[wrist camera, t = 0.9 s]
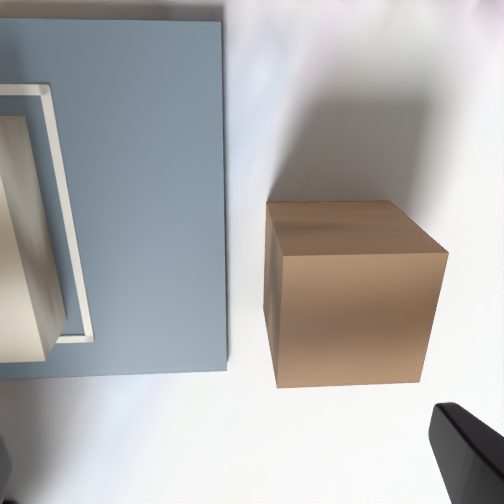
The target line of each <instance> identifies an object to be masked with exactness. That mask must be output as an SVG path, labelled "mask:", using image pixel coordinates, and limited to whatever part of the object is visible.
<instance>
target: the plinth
mask: <svg viewBox="0 0 504 504" xmlns="http://www.w3.org/2000/svg"><path fill="white" fill-rule="evenodd" d="M66 324H67V319H66V314H65V309H64V304H63V299H62V294H61V290H60V285H59V280H58V275H57V270H56V265H55V260H54V255H53V250H52V246H51V241H50V236H49V231H48V226H47V221H46V216H45V211H44V206H43V202H42V197H41V192H40V187H39V182H38V177H37V172H36V167H35V162H34V158H33V153H32V148H31V143H30V138H29V133H28V128H27V123H26V118H25V116H0V363H7V362H35V361H46V359H47V357H48V356H49V354H50V352H51V350H52V349H53V347H54V345H55V343H56V341H57V340H58V338H59V336H60V334H61V332H62V331H63V329H64V327H65V325H66Z"/></svg>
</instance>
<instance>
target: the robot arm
mask: <svg viewBox="0 0 504 504" xmlns="http://www.w3.org/2000/svg"><path fill="white" fill-rule="evenodd" d="M429 440H430V444H431V447H432V450H433V452H434V455H435V458H436V461H437V464H438V467H439V469H440V472H441V475H442V478H443V481H444V483H445V486H446V489H447V492H448V495H449V498H450V500H451V503H452V504H504V437H503V436H502V435H500V434H499V433H498V432H496V431H495V430H493V429H492V428H491V427H489V426H488V425H486V424H485V423H484V422H482V421H481V420H479V419H478V418H477V417H475V416H474V415H472V414H471V413H470V412H468V411H467V410H465V409H464V408H463V407H461V406H460V405H458V404H456V403H453V402H449V403H438V404H436V405H435V406H434V408H433V412H432V417H431V422H430V426H429ZM11 471H12V460H11V457H10V455H9V452H8V449H7V447H6V444H5V441H4V439H3V437H2V436H1V435H0V504H13V503H10V502H3V499H4V495H5V492H6V489H7V485H8V482H9V479H10V475H11Z"/></svg>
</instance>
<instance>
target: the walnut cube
mask: <svg viewBox="0 0 504 504" xmlns="http://www.w3.org/2000/svg"><path fill="white" fill-rule="evenodd" d="M448 255H449V252H448V251H446V250H445V249H444V248H443V247H442V246H441V245H439V244H438V243H437V242H436V241H435V240H434V239H433V238H431V237H430V236H429V235H428V234H427V233H426V232H425V231H423V230H422V229H421V228H420V227H419V226H418V225H417V224H415V223H414V222H413V221H412V220H411V219H410V218H409V217H407V216H406V215H405V214H404V213H403V212H402V211H400V210H399V209H398V208H397V207H396V206H395V205H394V204H392V203H391V202H390V201H337V202H266V230H265V267H264V304H263V310H264V316H265V322H266V328H267V333H268V339H269V345H270V351H271V356H272V362H273V368H274V374H275V379H276V385H277V388H298V387H321V386H345V385H369V384H393V383H417V382H420V377H421V373H422V369H423V364H424V360H425V356H426V351H427V347H428V342H429V338H430V334H431V329H432V325H433V320H434V316H435V312H436V307H437V303H438V298H439V294H440V290H441V285H442V281H443V276H444V272H445V268H446V263H447V259H448Z"/></svg>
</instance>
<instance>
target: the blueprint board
mask: <svg viewBox="0 0 504 504" xmlns="http://www.w3.org/2000/svg"><path fill="white" fill-rule="evenodd" d="M0 116H25V118H26V123H27V128H28V133H29V138H30V143H31V148H32V153H33V158H34V162H35V167H36V172H37V177H38V182H39V187H40V192H41V197H42V202H43V206H44V211H45V216H46V221H47V226H48V231H49V236H50V241H51V246H52V250H53V255H54V260H55V265H56V270H57V275H58V280H59V285H60V290H61V294H62V299H63V304H64V309H65V314H66V319H67V324H66V325H65V327H64V329H63V331H62V332H61V334H60V336H59V338H58V340H57V341H56V343H55V345H54V347H53V349H52V350H51V352H50V354H49V356H48V357H47V359H46V361H35V362H7V363H0V380H2V379H28V378H55V377H81V376H107V375H133V374H159V373H185V372H211V371H227V344H226V285H225V225H224V166H223V106H222V47H221V22H214V21H157V20H100V19H43V18H0Z"/></svg>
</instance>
